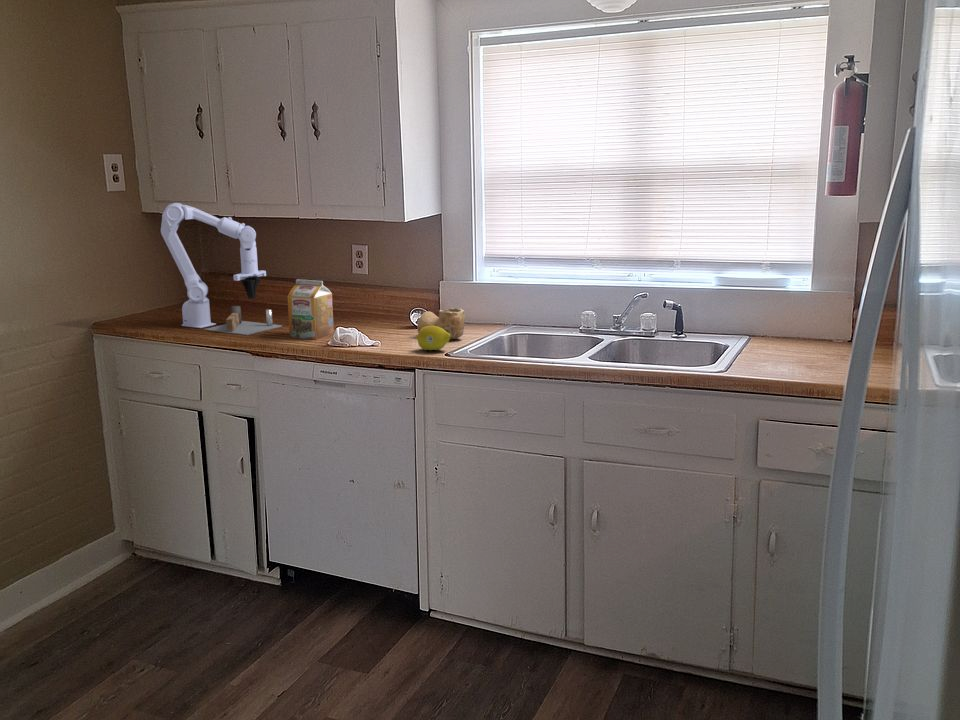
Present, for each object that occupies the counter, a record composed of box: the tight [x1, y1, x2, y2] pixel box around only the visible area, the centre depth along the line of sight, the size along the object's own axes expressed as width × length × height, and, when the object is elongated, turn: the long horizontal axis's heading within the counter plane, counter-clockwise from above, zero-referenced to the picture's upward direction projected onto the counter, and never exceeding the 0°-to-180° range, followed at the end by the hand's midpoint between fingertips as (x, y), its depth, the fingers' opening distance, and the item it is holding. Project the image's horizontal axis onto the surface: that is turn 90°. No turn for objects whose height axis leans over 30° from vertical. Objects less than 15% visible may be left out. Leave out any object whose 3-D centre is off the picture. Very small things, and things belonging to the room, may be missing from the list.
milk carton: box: [287, 278, 335, 341], centre depth 295 cm, size 11×11×19 cm
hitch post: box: [265, 309, 274, 326], centre depth 312 cm, size 2×2×6 cm
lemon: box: [416, 326, 451, 351], centre depth 272 cm, size 11×8×8 cm
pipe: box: [416, 307, 466, 341], centre depth 291 cm, size 9×16×10 cm, turn 57°
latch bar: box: [225, 305, 243, 331], centre depth 309 cm, size 17×3×6 cm, turn 6°
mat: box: [203, 320, 283, 336], centre depth 310 cm, size 20×18×1 cm
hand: (251, 298), depth 316 cm, fingers closed
